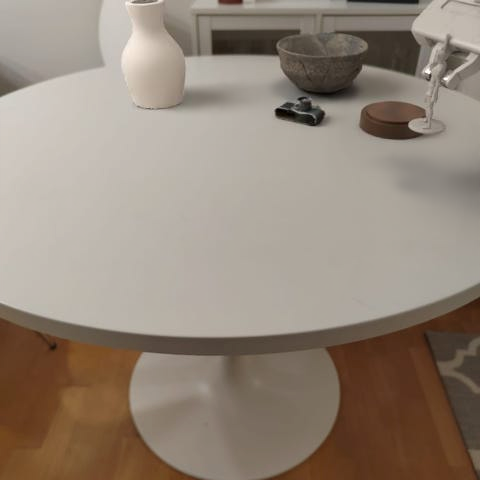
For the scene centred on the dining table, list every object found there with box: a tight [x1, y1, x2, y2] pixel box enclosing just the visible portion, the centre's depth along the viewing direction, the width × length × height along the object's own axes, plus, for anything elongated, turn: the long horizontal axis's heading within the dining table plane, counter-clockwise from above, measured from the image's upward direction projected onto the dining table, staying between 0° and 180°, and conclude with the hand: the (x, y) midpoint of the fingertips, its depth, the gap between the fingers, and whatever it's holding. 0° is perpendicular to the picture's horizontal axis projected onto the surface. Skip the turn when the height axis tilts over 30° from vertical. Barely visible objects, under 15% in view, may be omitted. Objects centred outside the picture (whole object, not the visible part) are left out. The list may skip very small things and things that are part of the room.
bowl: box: [275, 31, 369, 94], centre depth 106 cm, size 21×21×10 cm
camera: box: [274, 95, 326, 126], centre depth 94 cm, size 5×10×4 cm, turn 53°
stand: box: [358, 100, 426, 140], centre depth 90 cm, size 13×13×3 cm
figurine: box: [408, 33, 450, 135], centre depth 64 cm, size 5×5×12 cm
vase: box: [120, 0, 187, 110], centre depth 100 cm, size 14×14×20 cm
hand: (435, 82), depth 63 cm, fingers closed on figurine, 2 cm apart
